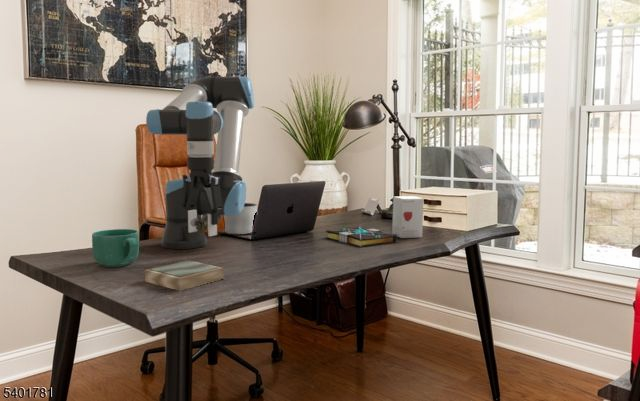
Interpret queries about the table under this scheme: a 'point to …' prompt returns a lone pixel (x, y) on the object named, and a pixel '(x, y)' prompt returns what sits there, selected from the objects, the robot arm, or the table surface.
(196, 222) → the brown animal figurine
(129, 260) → the mug
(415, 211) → the supplement box
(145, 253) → the table surface
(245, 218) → the planter
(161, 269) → the pedestal
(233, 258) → the table surface
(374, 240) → the book
